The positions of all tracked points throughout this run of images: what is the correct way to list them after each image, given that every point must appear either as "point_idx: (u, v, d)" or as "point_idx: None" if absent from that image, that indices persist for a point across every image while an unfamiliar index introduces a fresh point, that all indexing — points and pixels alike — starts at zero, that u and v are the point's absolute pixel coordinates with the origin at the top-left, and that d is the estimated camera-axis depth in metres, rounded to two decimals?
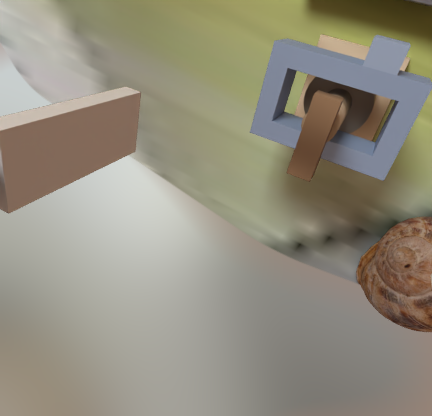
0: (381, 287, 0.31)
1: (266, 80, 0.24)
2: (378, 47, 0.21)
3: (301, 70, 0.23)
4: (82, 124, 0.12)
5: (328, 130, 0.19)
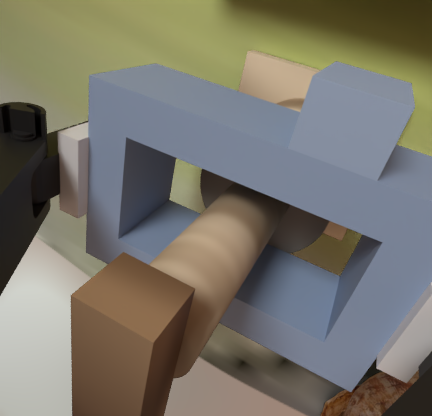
0: None
1: (92, 159, 0.11)
2: (324, 104, 0.07)
3: (154, 145, 0.10)
4: None
5: (138, 401, 0.06)
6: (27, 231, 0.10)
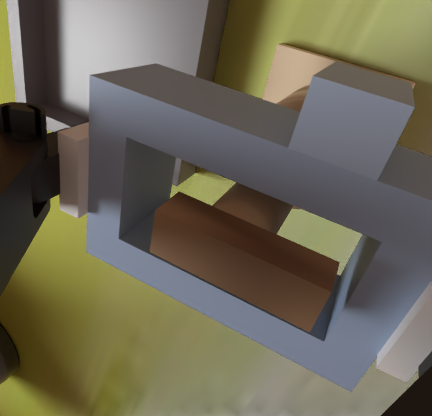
0: None
1: (92, 159, 0.11)
2: (324, 104, 0.07)
3: (154, 145, 0.10)
4: None
5: (207, 236, 0.09)
6: (27, 231, 0.10)
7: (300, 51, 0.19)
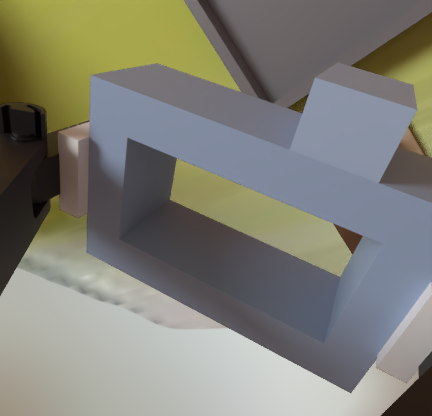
0: None
1: (93, 159, 0.11)
2: (326, 106, 0.07)
3: (155, 146, 0.10)
4: None
5: None
6: (27, 231, 0.10)
7: None
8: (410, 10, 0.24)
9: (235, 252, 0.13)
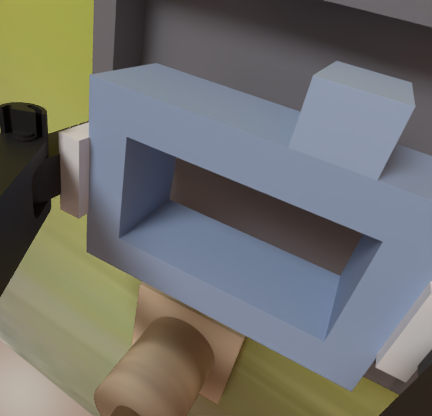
0: None
1: (92, 159, 0.11)
2: (325, 104, 0.07)
3: (154, 145, 0.10)
4: None
5: None
6: (28, 231, 0.10)
7: (238, 351, 0.21)
8: None
9: (235, 251, 0.13)
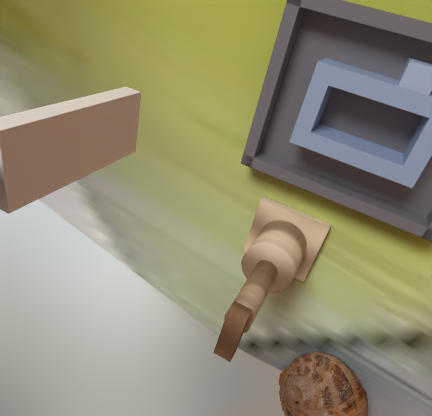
0: (287, 409, 0.40)
1: (307, 95, 0.27)
2: (413, 70, 0.23)
3: (341, 88, 0.26)
4: (82, 124, 0.12)
5: (239, 335, 0.25)
6: None
7: (324, 238, 0.34)
8: (391, 213, 0.29)
9: (357, 141, 0.28)
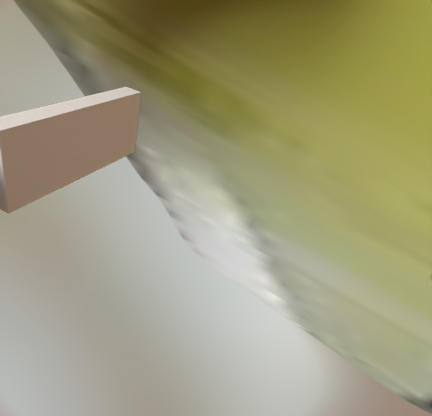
0: None
1: None
2: None
3: None
4: (82, 124, 0.12)
5: None
6: None
7: None
8: None
9: None
